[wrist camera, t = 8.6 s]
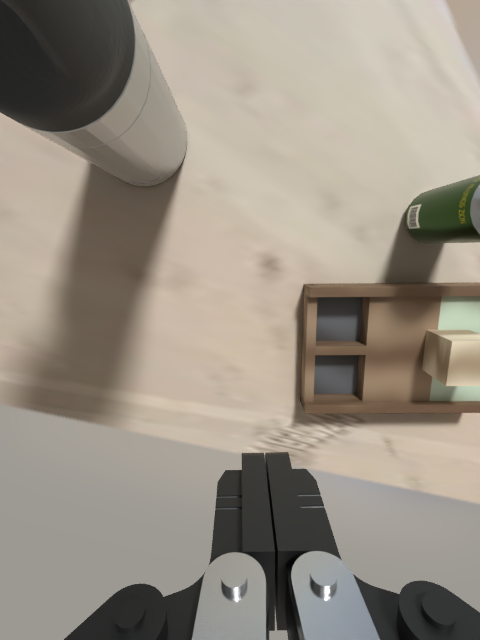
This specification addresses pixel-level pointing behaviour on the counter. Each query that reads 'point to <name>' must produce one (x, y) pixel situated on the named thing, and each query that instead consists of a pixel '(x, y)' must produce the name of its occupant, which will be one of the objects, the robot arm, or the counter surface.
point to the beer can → (447, 213)
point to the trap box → (382, 347)
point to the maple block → (453, 357)
